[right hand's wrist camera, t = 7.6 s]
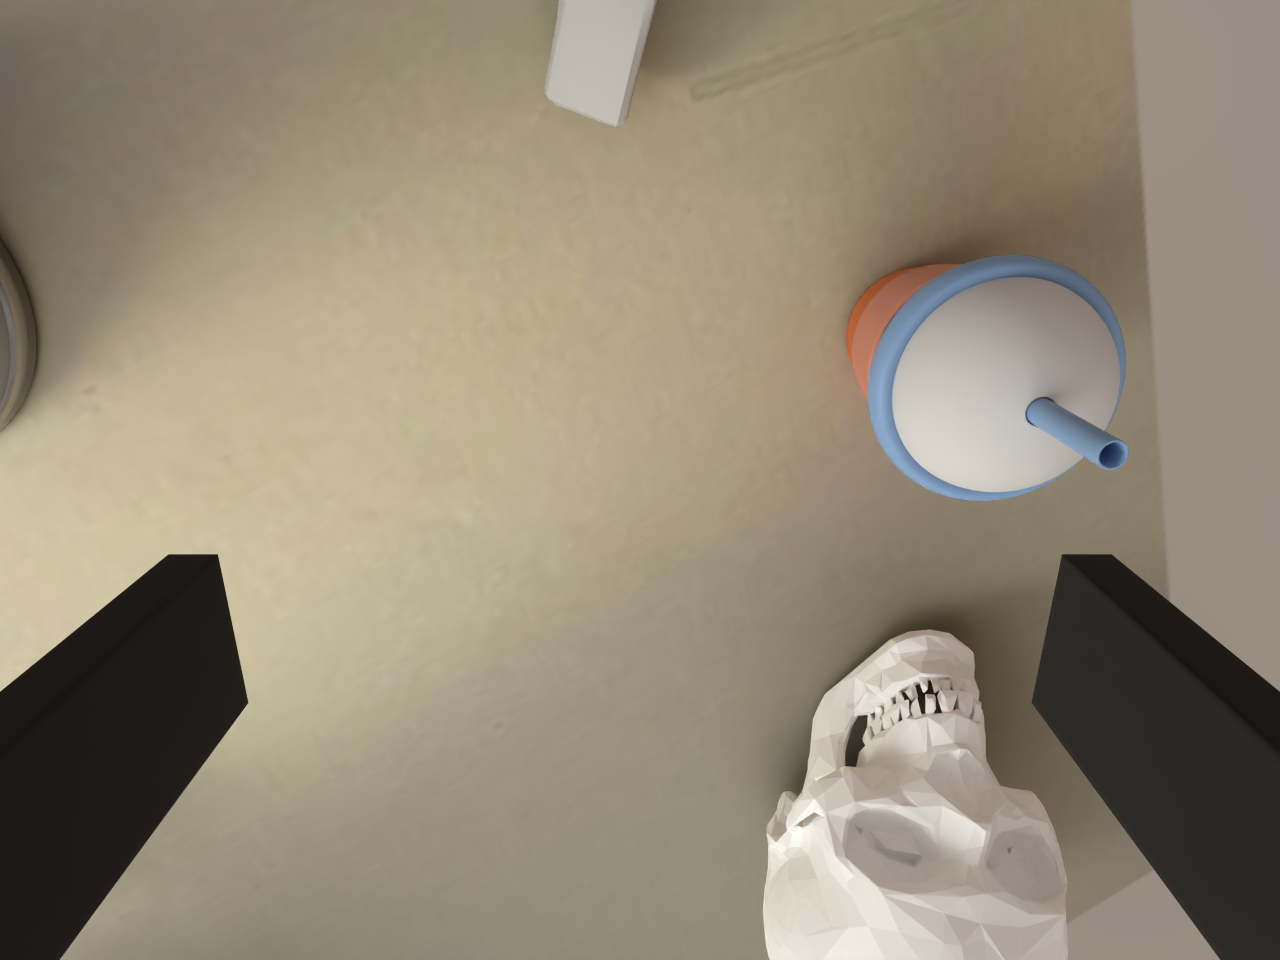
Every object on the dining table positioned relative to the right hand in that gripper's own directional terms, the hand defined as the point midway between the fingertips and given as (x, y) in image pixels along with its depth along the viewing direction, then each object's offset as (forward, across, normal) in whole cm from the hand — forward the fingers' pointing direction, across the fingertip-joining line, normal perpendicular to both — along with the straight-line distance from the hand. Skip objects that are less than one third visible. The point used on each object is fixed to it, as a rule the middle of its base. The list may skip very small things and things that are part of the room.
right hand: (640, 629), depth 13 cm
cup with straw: (+28, -13, 0) cm, 31 cm away
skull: (+28, -14, +27) cm, 41 cm away
